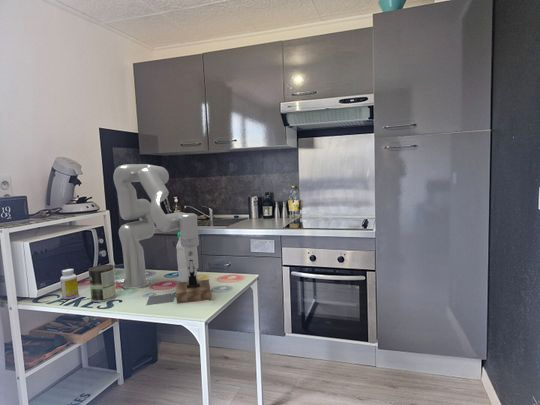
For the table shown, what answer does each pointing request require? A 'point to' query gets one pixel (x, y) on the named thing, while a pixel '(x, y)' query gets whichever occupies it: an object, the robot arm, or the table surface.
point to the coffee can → (102, 283)
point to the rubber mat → (160, 299)
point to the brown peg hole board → (193, 292)
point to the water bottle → (181, 261)
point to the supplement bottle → (69, 284)
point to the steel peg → (196, 278)
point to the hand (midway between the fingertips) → (193, 282)
